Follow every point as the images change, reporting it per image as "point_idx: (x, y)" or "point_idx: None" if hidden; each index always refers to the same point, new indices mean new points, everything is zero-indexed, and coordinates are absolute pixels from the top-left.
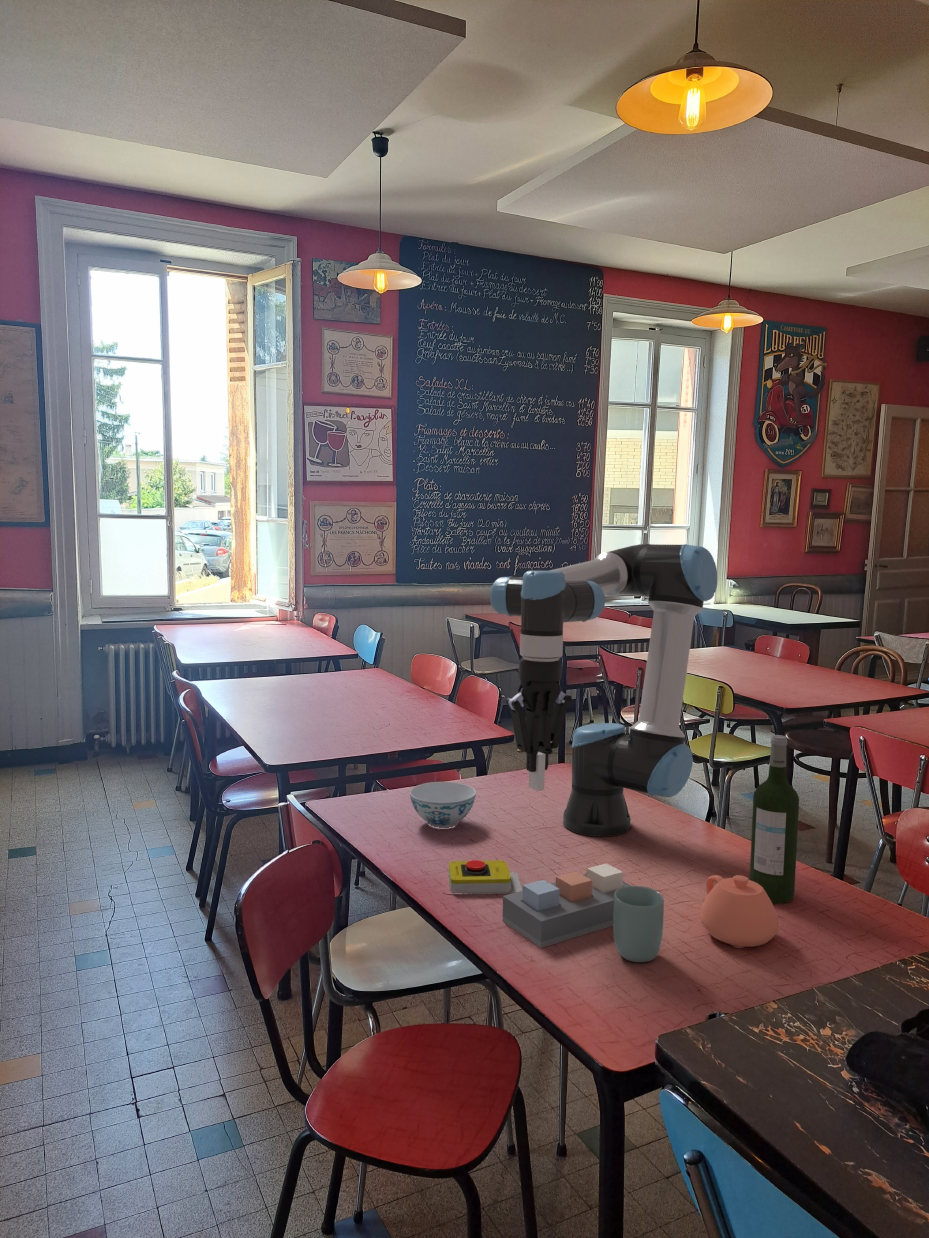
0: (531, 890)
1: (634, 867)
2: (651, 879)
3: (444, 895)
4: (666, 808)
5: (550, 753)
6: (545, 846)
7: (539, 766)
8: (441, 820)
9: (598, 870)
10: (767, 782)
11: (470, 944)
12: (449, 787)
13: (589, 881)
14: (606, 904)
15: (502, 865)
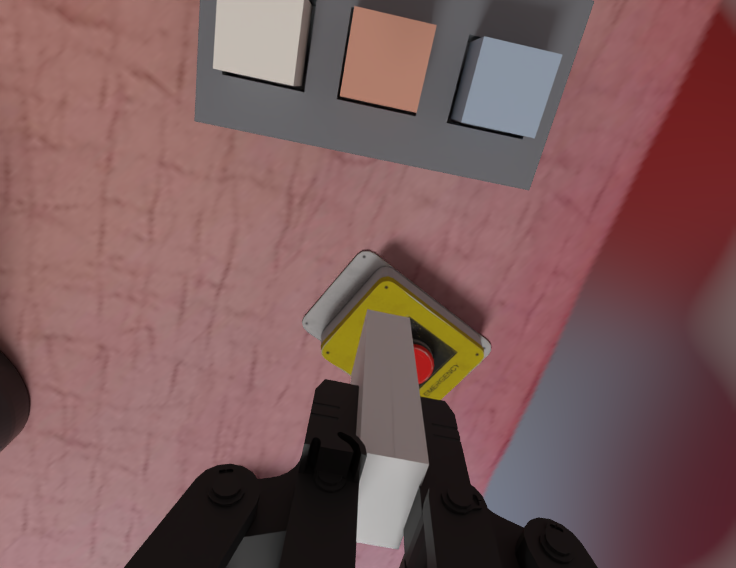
0: (549, 92)
1: (24, 161)
2: (33, 77)
3: (496, 341)
4: None
5: (332, 430)
6: (142, 377)
7: (411, 397)
8: None
9: (277, 47)
10: None
11: (645, 145)
12: None
13: (365, 8)
14: None
15: (344, 339)
